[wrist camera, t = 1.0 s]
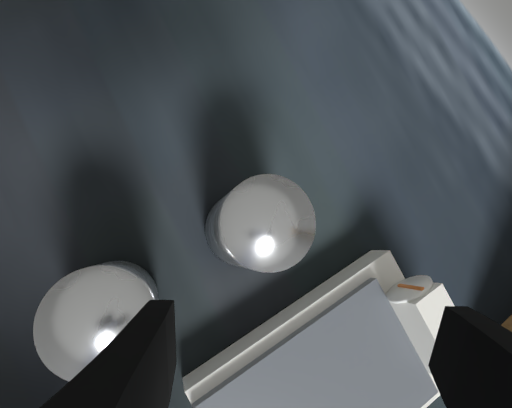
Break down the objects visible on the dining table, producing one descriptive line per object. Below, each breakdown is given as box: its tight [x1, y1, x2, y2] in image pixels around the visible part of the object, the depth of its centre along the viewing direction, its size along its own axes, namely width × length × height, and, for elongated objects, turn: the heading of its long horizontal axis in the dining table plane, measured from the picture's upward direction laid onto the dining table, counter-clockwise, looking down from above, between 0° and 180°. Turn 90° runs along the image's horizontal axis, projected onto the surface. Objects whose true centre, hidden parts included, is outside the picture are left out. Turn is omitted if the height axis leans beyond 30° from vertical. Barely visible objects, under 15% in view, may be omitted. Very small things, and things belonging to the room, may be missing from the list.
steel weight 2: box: [205, 174, 316, 273], centre depth 19 cm, size 4×4×6 cm
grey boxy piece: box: [182, 250, 454, 408], centre depth 20 cm, size 14×9×5 cm, turn 120°
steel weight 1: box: [33, 261, 158, 381], centre depth 17 cm, size 4×4×6 cm
